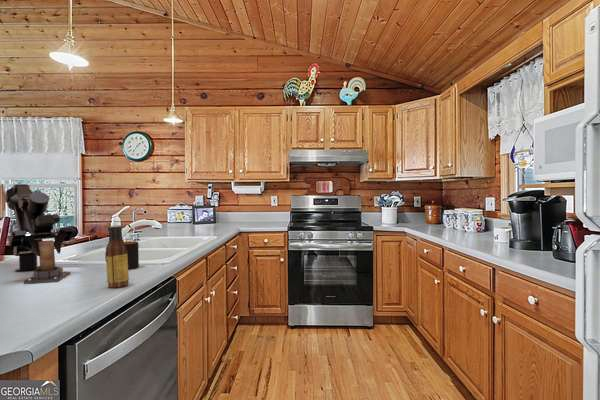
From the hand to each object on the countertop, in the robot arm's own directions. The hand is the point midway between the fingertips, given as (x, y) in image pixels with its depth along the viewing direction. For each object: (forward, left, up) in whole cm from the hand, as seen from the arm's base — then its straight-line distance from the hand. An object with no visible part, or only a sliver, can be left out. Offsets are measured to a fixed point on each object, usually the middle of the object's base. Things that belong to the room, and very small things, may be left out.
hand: (49, 254), depth 123 cm
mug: (-12, +21, -9) cm, 26 cm away
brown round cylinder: (-1, -1, -8) cm, 8 cm away
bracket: (-1, -1, -9) cm, 9 cm away
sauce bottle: (+17, +25, -9) cm, 32 cm away
